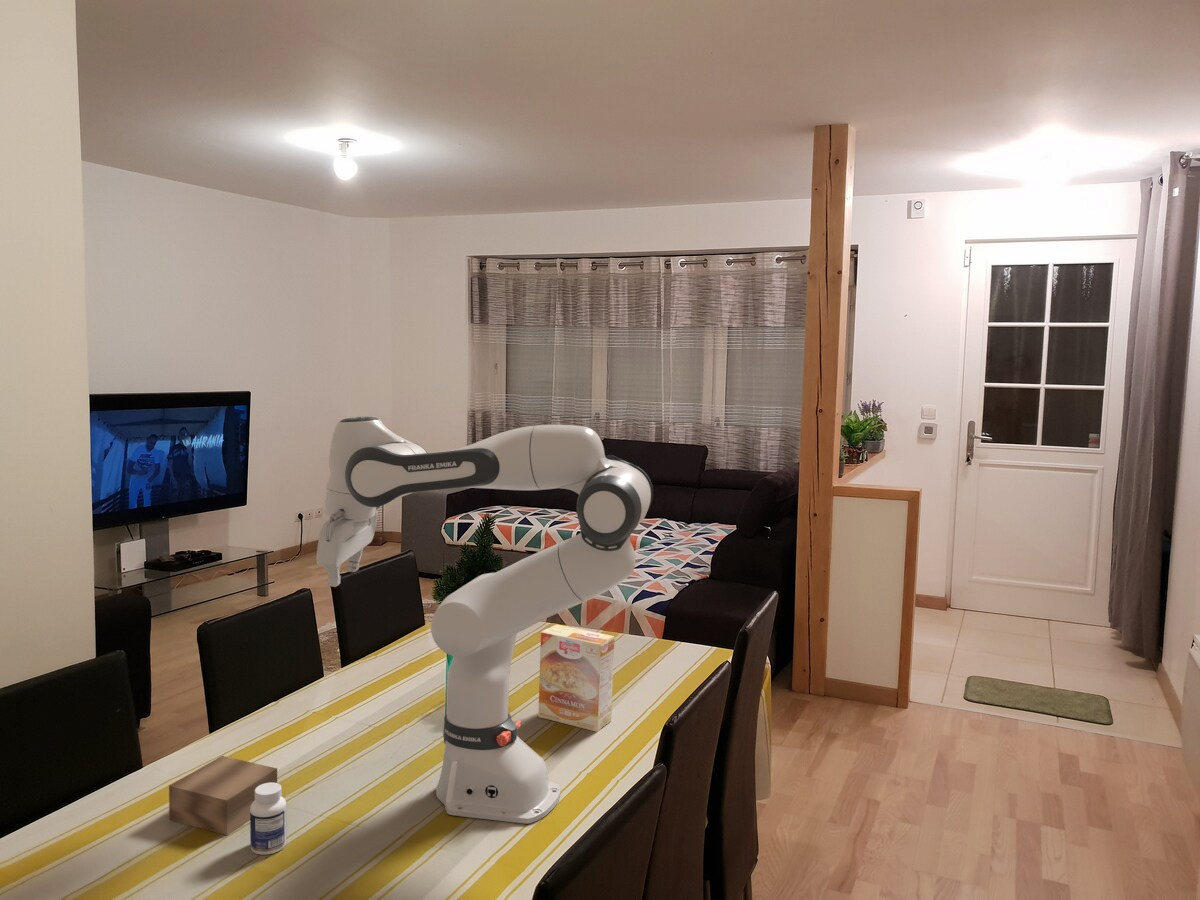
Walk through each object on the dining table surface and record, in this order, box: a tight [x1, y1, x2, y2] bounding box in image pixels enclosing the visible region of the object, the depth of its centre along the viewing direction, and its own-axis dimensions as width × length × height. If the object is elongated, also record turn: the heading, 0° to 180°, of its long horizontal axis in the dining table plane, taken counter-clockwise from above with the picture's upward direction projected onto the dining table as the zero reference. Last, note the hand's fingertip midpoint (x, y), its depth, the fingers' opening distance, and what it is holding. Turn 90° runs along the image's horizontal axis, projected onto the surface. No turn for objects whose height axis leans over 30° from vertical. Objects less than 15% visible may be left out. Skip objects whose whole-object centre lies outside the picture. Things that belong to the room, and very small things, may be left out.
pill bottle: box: [249, 782, 287, 856], centre depth 140 cm, size 5×5×10 cm
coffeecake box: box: [538, 623, 615, 733], centre depth 192 cm, size 15×7×20 cm, turn 63°
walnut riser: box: [168, 755, 278, 836], centre depth 150 cm, size 12×12×6 cm
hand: (343, 578), depth 161 cm, fingers open, 8 cm apart
